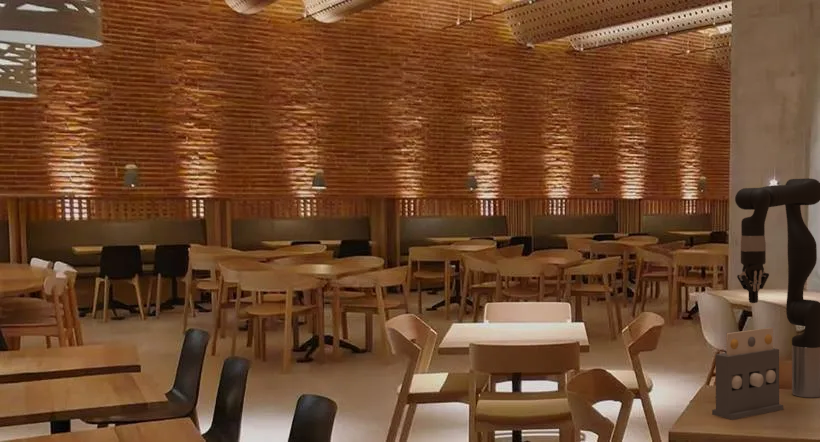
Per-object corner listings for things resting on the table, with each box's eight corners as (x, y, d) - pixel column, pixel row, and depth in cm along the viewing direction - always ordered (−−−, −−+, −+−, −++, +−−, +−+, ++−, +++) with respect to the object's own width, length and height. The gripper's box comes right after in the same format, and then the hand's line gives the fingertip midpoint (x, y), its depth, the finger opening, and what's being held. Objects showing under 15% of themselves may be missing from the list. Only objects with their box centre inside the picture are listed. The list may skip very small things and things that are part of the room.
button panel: (762, 404, 286) (762, 346, 286) (783, 409, 279) (783, 349, 279) (712, 414, 275) (711, 353, 274) (732, 419, 268) (732, 357, 267)
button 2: (767, 380, 282) (767, 367, 282) (775, 382, 279) (775, 369, 279) (759, 382, 280) (759, 369, 280) (767, 383, 277) (767, 370, 277)
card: (771, 348, 281) (770, 327, 281) (773, 349, 280) (773, 328, 280) (726, 355, 271) (726, 333, 271) (729, 356, 270) (729, 333, 270)
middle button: (755, 384, 277) (755, 371, 276) (763, 386, 274) (763, 373, 274) (746, 386, 275) (746, 373, 274) (754, 387, 272) (754, 374, 272)
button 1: (734, 386, 274) (734, 373, 274) (742, 388, 272) (742, 375, 271) (725, 388, 272) (725, 374, 272) (732, 389, 270) (732, 376, 269)
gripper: (757, 248, 285) (757, 300, 285) (729, 249, 278) (729, 303, 279) (776, 249, 278) (776, 302, 279) (748, 250, 272) (749, 305, 272)
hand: (753, 302), depth 279 cm, fingers closed
